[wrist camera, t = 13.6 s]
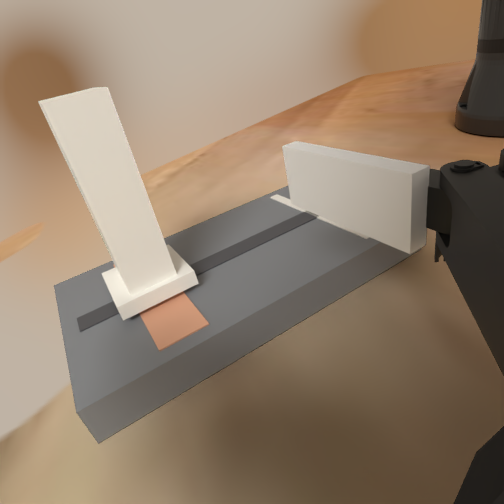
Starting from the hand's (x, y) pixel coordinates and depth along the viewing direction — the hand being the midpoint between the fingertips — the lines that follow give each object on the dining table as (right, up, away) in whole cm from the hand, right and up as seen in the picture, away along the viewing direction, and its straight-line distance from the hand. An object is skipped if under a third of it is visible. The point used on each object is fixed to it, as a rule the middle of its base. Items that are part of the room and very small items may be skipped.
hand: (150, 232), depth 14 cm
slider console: (+3, -3, +14) cm, 15 cm away
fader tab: (-3, -3, +10) cm, 11 cm away
